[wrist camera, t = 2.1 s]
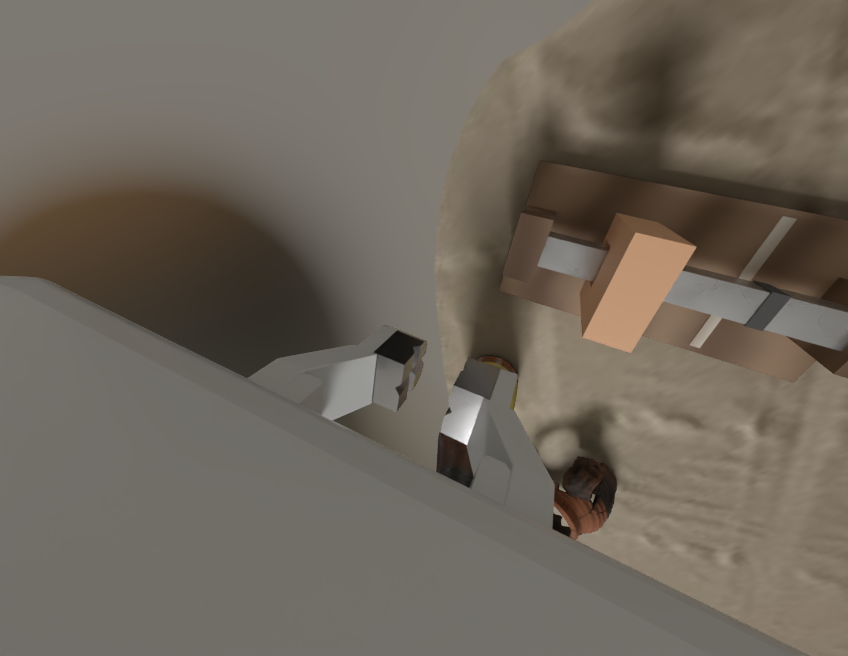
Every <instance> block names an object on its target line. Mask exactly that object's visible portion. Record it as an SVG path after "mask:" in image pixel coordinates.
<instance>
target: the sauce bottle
mask: <svg viewBox="0 0 848 656" xmlns="http://www.w3.org/2000/svg"><path fill="white" fill-rule="evenodd" d="M477 360H478V361H480V362H483V363H486V364H489V365H492V366H495V367H497V368H500V370H501V369H504V370H507V371H510V372H513V373H515V371H514V369H513V368H512V366H511V365H510V364H509V363H508V362H507V361H505V360H503V359H501V358H497V357H495V356H483V357H480V358H478V359H477ZM499 372H500V371H499ZM517 389H518V379H517V381H516V385H515V389H514V393H513V397H512V401H511V404H510V409H512V410H514V406H515V401H516V395H517ZM441 428H442V427H441ZM440 431H441V430H440ZM436 472H438V473H440V474H442V475H444V476H446V477H448V478H450V479H452V480H454V481H456V482H458V483H460V484H462V485H464V486H466V487H468V488H469V487H470V485H471V482H472V480H473V478H474V476H473V472H472V467H471V463H470V459H469V455H468V450H467V445H466V444H464V443H461V442H459V441H457V440H455V439H453V438H451V437H449V436H447V435H445V434H443V433H441V432H440V433H439V438H438V454H437V471H436Z"/></svg>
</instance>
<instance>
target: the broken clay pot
mask: <svg viewBox="0 0 848 656" xmlns="http://www.w3.org/2000/svg"><path fill="white" fill-rule="evenodd" d="M553 482H554V481H553ZM554 484H555V490H554V506H555V507H556V508H557V509H558V510H559V512H560V513H561V514H562V516H563V517H564V518H565V520H566V521H567V523H568V525H569V527H565V526H562V525H561V519H562V516H560V515H556V514H554V513H553V526H552V529H553V530H555V531H557V532H559V533H561V534H564V535H566V536H568V537H570V538H572V539H574V540H576V539H577V538H578V535H581V534H583V533H584V534H585V533H592V532H595V531H597V530H598V529H599V528H601V527H602V526H603V524H604V522H605V521H606V520H607V519H608V517H609V514H610V513H611V509H612V508H613V504H614V498H615V492H616V490H617V486H616V482H615V479H614V477H613V475H612V473H611V472H610V471H609V469H608V468H607V467H606V466H605V465H604V464H601V465H600V463H599V462H597V461H595V460H593V459H588V458H585V457H577V459H576V460H575V462H574V464H573V466H572V467H570V468H569V470H568V471H567V472H566V473H565V474H564V477H563V482H562V486H563V488H564V490H565V491H566V492H563V491H561V490H559V484H558V483H556V482H554ZM592 494H595V495H596V496H595V498H594V501H593V503H592V501H591V500H590V499H591V498H592Z"/></svg>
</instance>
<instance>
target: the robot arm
mask: <svg viewBox="0 0 848 656" xmlns="http://www.w3.org/2000/svg"><path fill="white" fill-rule="evenodd" d="M426 349H427V341H426V340H423V339H420V338H418V337H415V336H413V335H411V334H408V333H406V332H403V331H401V330H398V329H396V328H393V327H390V326H387V325H383V326H381V327H380V328H379V329H378V330H377V331H375V332H374V333H373V334H372V335H370V336H369V337H368V338H367V339H366V340H364V341H363V342H362V343H361V344H360V345H358V346H355V345H349V346H344V347H338V348H332V349H327V350H321V351H316V352H310V353H305V354H300V355H294V356H288V357H283V358H278V359H276V360H275V361H274V362H272V363H270V364H269V365H267V366H266V367H264V368H263V369H261V370H260V371H258V372H257V373H255V374H254V375H252V376H250V377H249V378H247V379H246V378H244V377H242V376H240V375H238V374H236V373H234V372H232V371H230V370H228V369H226V368H224V367H222V366H220V365H218V364H216V363H214V362H212V361H210V360H208V359H206V358H203V357H202V356H199V355H198V354H196V353H194V352H192V351H190V350H188V349H185V348H183V347H181V346H179V345H177V344H175V343H173V342H171V341H169V340H167V339H165V338H163V337H161V336H159V335H157V334H155V333H153V332H151V331H149V330H147V329H145V328H143V327H141V326H139V325H137V324H135V323H132V322H131V321H129V320H127V319H124V318H123V317H121V316H119V315H117V314H115V313H113V312H110V311H108V310H106V309H104V308H102V307H100V306H98V305H96V304H94V303H92V302H90V301H88V300H86V299H84V298H82V297H80V296H78V295H76V294H74V293H72V292H70V291H68V290H66V289H64V288H62V287H60V286H58V285H56V284H55V283H52V282H50V281H47V280H44V279H41V278H35V277H19V276H0V656H810V655H808V654H805V653H803V652H801V651H799V650H797V649H795V648H793V647H791V646H789V645H787V644H785V643H783V642H781V641H779V640H777V639H775V638H773V637H771V636H769V635H767V634H765V633H763V632H761V631H759V630H757V629H755V628H753V627H751V626H749V625H747V624H745V623H742V622H740V621H738V620H736V619H734V618H732V617H730V616H728V615H726V614H724V613H722V612H720V611H718V610H716V609H714V608H712V607H710V606H708V605H706V604H704V603H702V602H700V601H698V600H696V599H694V598H692V597H690V596H688V595H686V594H684V593H682V592H680V591H677V590H675V589H673V588H671V587H669V586H667V585H665V584H663V583H661V582H659V581H657V580H655V579H653V578H651V577H649V576H647V575H645V574H643V573H641V572H639V571H637V570H635V569H633V568H631V567H629V566H627V565H625V564H623V563H621V562H619V561H617V560H614V559H612V558H610V557H608V556H606V555H604V554H602V553H600V552H598V551H596V550H594V549H592V548H590V547H588V546H586V545H584V544H582V543H580V542H578V541H576V540H574V539H572V538H570V537H568V536H566V535H564V534H561V533H559V532H557V531H555V530H553V529H552V526H553V508H554V490H555V484H554V482H553V480H552V479H551V477H550V475H549V473H548V471H547V469H546V468H545V466H544V464H543V462H542V460H541V458H540V457H539V455H538V453H537V451H536V449H535V447H534V446H533V444H532V442H531V440H530V438H529V436H528V435H527V433H526V431H525V429H524V427H523V425H522V424H521V422H520V420H519V418H518V416H517V414H516V413H515V411H514V410H512V409H510V404H511V401H512V397H513V393H514V389H515V385H516V381H517V377H518V375H517V374H516V373H513V372H510V371H507V370H504V369H501V370H500V368H497V367H495V366H492V365H489V364H486V363H483V362H480V361H478V360H475V359H472V358H468V359H467V361H466V363H465V366H464V370H463V371H461V372H460V374H459V376H458V378H457V379H456V381H455V383H454V385H453V389H452V392H451V395H450V399H449V402H448V405H449V408H448V410H447V412H446V414H445V416H444V420H443V424H442V428H441V431H440V432H441V433H443V434H445V435H447V436H449V437H451V438H453V439H455V440H457V441H459V442H461V443H464V444H466V445H467V450H468V455H469V459H470V463H471V467H472V472H473V476H474V478H473V480H472V482H471V485H470V487H469V488H468V487H466V486H464V485H462V484H460V483H458V482H456V481H454V480H452V479H450V478H448V477H446V476H444V475H442V474H440V473H438V472H435V471H434V470H432V469H429V468H427V467H425V466H423V465H421V464H419V463H417V462H415V461H413V460H411V459H409V458H407V457H405V456H403V455H401V454H399V453H397V452H395V451H393V450H391V449H389V448H387V447H385V446H383V445H381V444H379V443H377V442H375V441H373V440H371V439H368V438H367V437H364V436H362V435H360V434H358V433H356V432H354V431H352V430H350V429H348V428H346V427H344V426H342V425H340V424H338V423H336V422H334V421H332V420H334V419H336V418H338V417H341V416H343V415H345V414H348V413H350V412H352V411H355V410H357V409H359V408H362V407H364V406H366V405H368V404H371V403H372V402H374V403H376V404H378V405H381V406H383V407H385V408H388V409H390V410H392V411H395V412H397V411H398V409H399V408H400V407H401V405H402V404H403V402H404V401H405V400H406V397H407V392H408V391H411V390H413V388H414V387H415V386H416V384H417V382H418V380H419V378H420V375H421V372H422V369H423V361H422V359H421V358H422V357H423V356H424V354H425V353H426ZM499 371H500V372H499Z"/></svg>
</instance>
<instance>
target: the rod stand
mask: <svg viewBox="0 0 848 656" xmlns="http://www.w3.org/2000/svg"><path fill="white" fill-rule="evenodd" d="M616 213H619V214H624V215H628V216H633V217H637V218H642V219H646V220H651V221H655V222H659V223H660V224H662V225H664V226H665V227H667V228H668V229H670V230H671V231H673V232H674V233H676V234H678V235H679V236H681V237H682V238H684V239H685V240H687V241H689V242H690V243H692V244H693V245H695V246H696V249H695V251H694V252H693V254H692V255H691V257H690V259H689V260H688V262H687V263H686V265H685V267H684V268H683V270H682V272H681V273H680V275H679V276H678V278H677V280H676V281H675V283H674V284H673V286H672V288H671V289H670V291H669V292H668V294H667V296H666V297H665V299H664V300H663V302H662V304H661V305H660V307H659V308H658V310H657V312H656V313H655V315H654V316H653V318H652V320H651V321H650V323H649V325H648V326H647V328H646V329H645V331H644V333H643V334H642V336H645V337H648V338H652V339H655V340H658V341H661V342H664V343H668V344H671V345H674V346H677V347H681V348H684V349H687V350H690V351H693V352H697V353H700V354H703V355H706V356H709V357H713V358H716V359H719V360H722V361H726V362H729V363H732V364H735V365H738V366H742V367H745V368H748V369H751V370H754V371H758V372H761V373H764V374H767V375H771V376H774V377H777V378H780V379H783V380H787V381H790V382H793V383H794V382H795V381H796V380H797V379H798V378H799V377H800V376H801V375H802V374H803V373H804V372H805V371H806V370H807V369H808V368H809V367H810V366H811V365H812V364H813V363H814V362H815V361H816V360H817V361H818V362H819V363H821V364H822V365H823V366H824V367H826V368H827V369H828V370H829V371H831V372H832V373H833V374H836V375H839V376H842V377H846V378H848V220H844V219H839V218H834V217H829V216H824V215H819V214H814V213H808V212H803V211H798V210H793V209H788V208H783V207H777V206H772V205H767V204H762V203H757V202H752V201H746V200H741V199H736V198H731V197H726V196H721V195H715V194H710V193H705V192H700V191H695V190H690V189H684V188H679V187H674V186H669V185H664V184H659V183H653V182H648V181H643V180H638V179H633V178H628V177H622V176H617V175H612V174H607V173H602V172H597V171H591V170H586V169H581V168H576V167H571V166H566V165H561V164H555V163H550V162H545V161H540V162H539V165H538V168H537V171H536V174H535V178H534V181H533V184H532V187H531V190H530V193H529V197H528V200H527V203H526V206H525V209H524V211H522V212H521V215H520V218H519V221H518V224H517V227H516V231H515V234H514V237H513V240H512V244H511V247H510V250H509V253H508V256H507V260H506V263H505V266H504V269H503V272H502V276H503V279H502V282H501V285H500V289H499V291H501V292H504V293H507V294H510V295H513V296H517V297H520V298H523V299H526V300H529V301H533V302H536V303H539V304H542V305H546V306H549V307H552V308H555V309H558V310H562V311H565V312H568V313H571V314H574V315H578V316H581V307H580V291H581V289H582V287H583V284H584V282H585V280H589V281H592V282H594V281H595V279H596V277H597V275H598V273H599V270H600V268H601V266H602V264H603V262H604V260H605V258H606V256H607V254H608V252H609V250H610V248H611V247H610V246H607V245H603V244H602V243H603V241H604V239H605V237H606V235H607V233H608V230H609V228H610V226H611V224H612V222H613V220H614V217H615V215H616Z"/></svg>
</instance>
